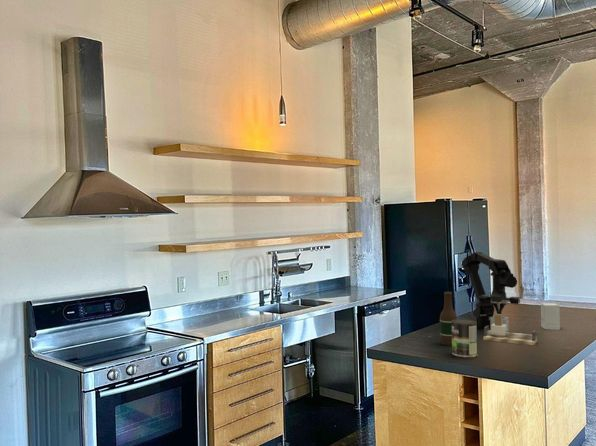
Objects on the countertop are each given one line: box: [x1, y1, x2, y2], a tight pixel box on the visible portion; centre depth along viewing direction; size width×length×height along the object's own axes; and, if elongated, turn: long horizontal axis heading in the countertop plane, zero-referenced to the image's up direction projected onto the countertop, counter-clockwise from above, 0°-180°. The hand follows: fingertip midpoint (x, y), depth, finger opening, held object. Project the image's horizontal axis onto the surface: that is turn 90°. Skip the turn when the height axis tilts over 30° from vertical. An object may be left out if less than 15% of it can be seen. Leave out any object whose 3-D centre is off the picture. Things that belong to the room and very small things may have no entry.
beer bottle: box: [439, 291, 458, 347], centre depth 235 cm, size 8×8×24 cm
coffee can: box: [451, 318, 478, 358], centre depth 216 cm, size 10×10×14 cm
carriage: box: [490, 313, 507, 336], centre depth 242 cm, size 6×6×9 cm
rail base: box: [482, 326, 538, 346], centre depth 239 cm, size 22×10×6 cm, turn 57°
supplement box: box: [540, 302, 561, 331], centre depth 264 cm, size 7×7×13 cm
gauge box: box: [490, 315, 510, 333], centre depth 253 cm, size 7×7×8 cm
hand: (499, 316), depth 253 cm, fingers closed, pressing on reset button
